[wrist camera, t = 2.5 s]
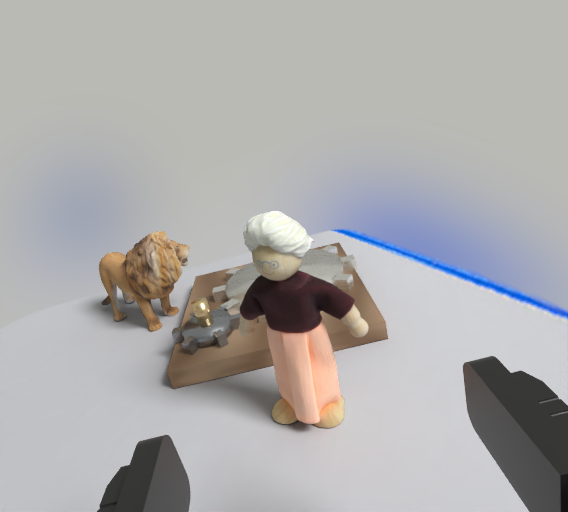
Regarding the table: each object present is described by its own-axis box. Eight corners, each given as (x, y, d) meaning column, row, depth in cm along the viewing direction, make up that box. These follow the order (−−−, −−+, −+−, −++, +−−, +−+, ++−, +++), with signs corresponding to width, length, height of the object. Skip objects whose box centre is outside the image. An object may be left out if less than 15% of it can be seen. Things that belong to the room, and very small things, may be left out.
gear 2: (209, 337, 33) (205, 326, 33) (220, 272, 45) (218, 264, 45) (374, 298, 33) (372, 287, 33) (341, 243, 45) (340, 234, 45)
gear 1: (170, 360, 31) (157, 326, 30) (181, 325, 36) (170, 294, 35) (242, 343, 31) (231, 308, 30) (243, 310, 36) (234, 279, 35)
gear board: (173, 388, 31) (166, 372, 30) (200, 288, 46) (196, 276, 46) (387, 338, 30) (385, 320, 30) (341, 254, 46) (338, 242, 46)
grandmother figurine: (250, 437, 25) (183, 237, 20) (264, 392, 28) (210, 212, 23) (384, 433, 23) (345, 211, 18) (381, 385, 26) (348, 188, 22)
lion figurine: (216, 307, 41) (189, 221, 38) (179, 338, 37) (145, 245, 34) (122, 297, 49) (92, 226, 46) (83, 322, 45) (48, 245, 42)
